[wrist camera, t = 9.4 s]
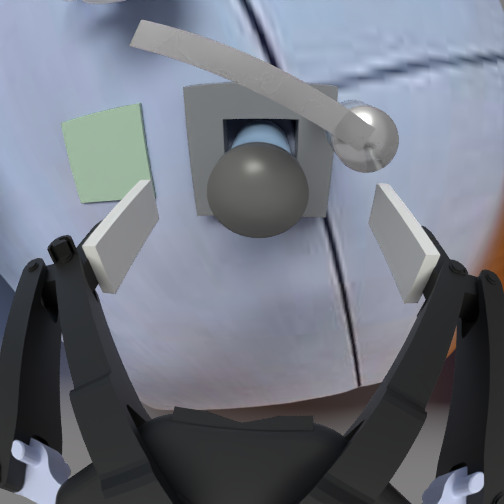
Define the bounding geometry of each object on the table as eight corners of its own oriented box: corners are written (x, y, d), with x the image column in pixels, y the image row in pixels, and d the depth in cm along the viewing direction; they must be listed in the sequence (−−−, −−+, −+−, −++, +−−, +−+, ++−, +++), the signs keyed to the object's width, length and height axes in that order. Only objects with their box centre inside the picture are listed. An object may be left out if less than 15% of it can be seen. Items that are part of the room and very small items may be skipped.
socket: (202, 203, 28) (168, 287, 18) (191, 85, 20) (128, 104, 11) (321, 204, 27) (347, 291, 18) (331, 84, 20) (384, 102, 10)
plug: (231, 174, 26) (211, 237, 17) (228, 115, 22) (201, 148, 14) (292, 174, 25) (304, 238, 17) (294, 115, 22) (312, 148, 13)
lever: (391, 123, 11) (410, 133, 9) (360, 167, 12) (373, 184, 11) (167, 10, 8) (150, 2, 6) (142, 62, 9) (121, 63, 8)
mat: (82, 201, 28) (81, 203, 28) (63, 122, 22) (61, 123, 21) (155, 196, 27) (154, 197, 27) (140, 103, 21) (139, 103, 21)
